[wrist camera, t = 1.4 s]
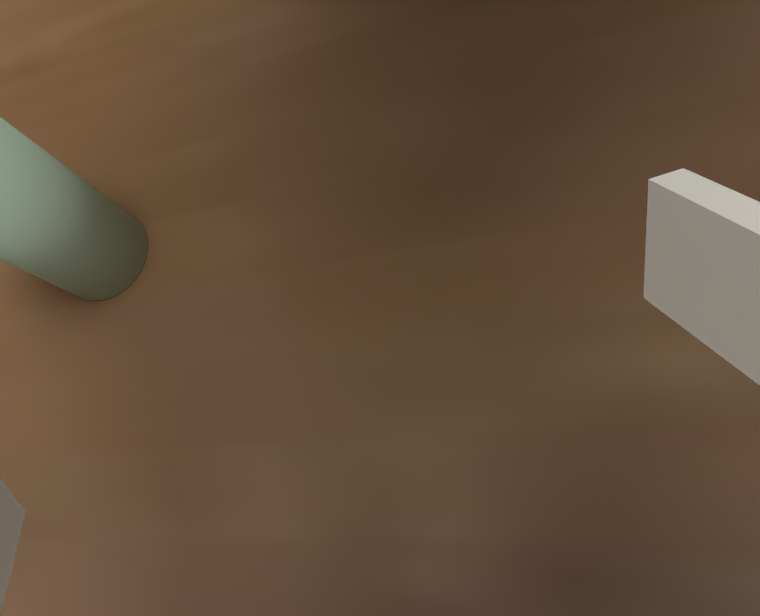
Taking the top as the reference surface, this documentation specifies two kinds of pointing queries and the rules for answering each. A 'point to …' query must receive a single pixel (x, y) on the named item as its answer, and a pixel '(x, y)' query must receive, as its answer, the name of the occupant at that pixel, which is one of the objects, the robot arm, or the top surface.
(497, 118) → the top surface
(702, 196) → the robot arm
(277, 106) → the top surface
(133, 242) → the green post
